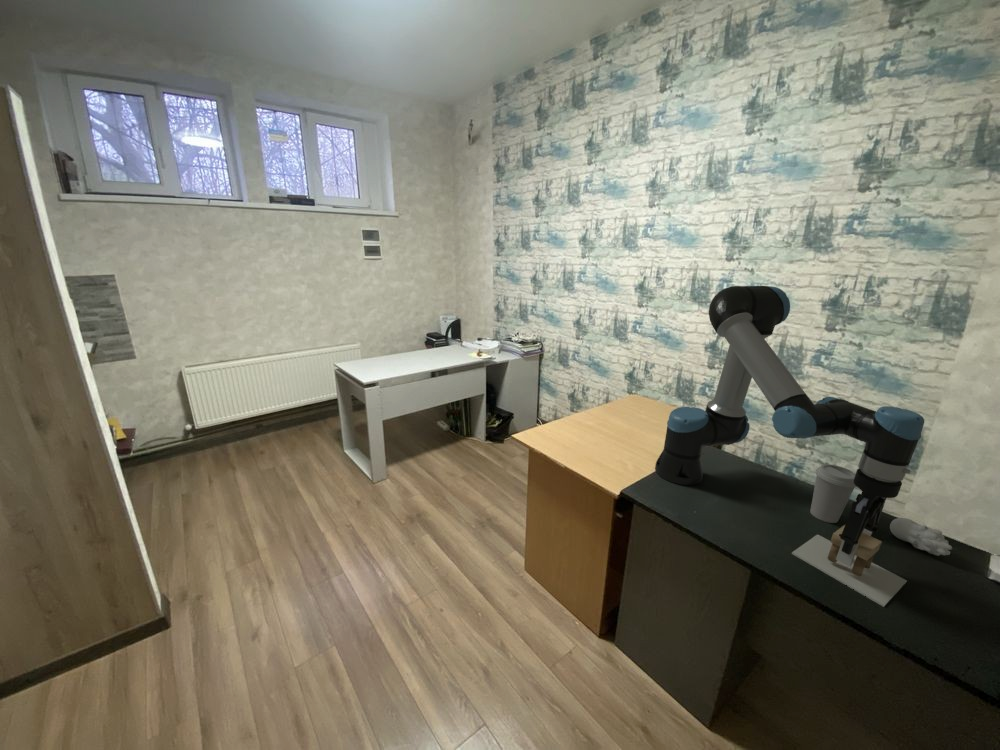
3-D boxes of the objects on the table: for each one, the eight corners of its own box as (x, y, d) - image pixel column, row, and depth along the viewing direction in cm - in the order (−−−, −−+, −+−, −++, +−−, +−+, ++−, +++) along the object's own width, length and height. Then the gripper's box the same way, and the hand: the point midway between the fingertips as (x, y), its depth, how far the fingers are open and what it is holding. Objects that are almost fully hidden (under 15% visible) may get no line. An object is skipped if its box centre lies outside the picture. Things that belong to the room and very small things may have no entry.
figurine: (901, 520, 109) (963, 546, 98) (888, 538, 109) (948, 567, 98) (895, 508, 106) (957, 534, 96) (881, 528, 106) (942, 556, 95)
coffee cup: (853, 529, 109) (869, 482, 105) (814, 523, 111) (829, 478, 106) (832, 508, 118) (846, 464, 114) (797, 503, 120) (810, 460, 115)
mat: (791, 553, 99) (791, 552, 99) (816, 535, 106) (817, 534, 106) (883, 607, 85) (884, 605, 84) (906, 581, 91) (907, 580, 91)
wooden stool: (824, 558, 96) (833, 533, 94) (837, 548, 100) (845, 524, 97) (860, 578, 90) (870, 552, 88) (872, 567, 94) (882, 541, 92)
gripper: (884, 495, 80) (852, 583, 87) (917, 471, 89) (885, 552, 96) (840, 477, 86) (812, 561, 93) (875, 456, 96) (848, 533, 102)
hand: (850, 556), depth 94 cm, fingers closed on wooden stool, 7 cm apart
